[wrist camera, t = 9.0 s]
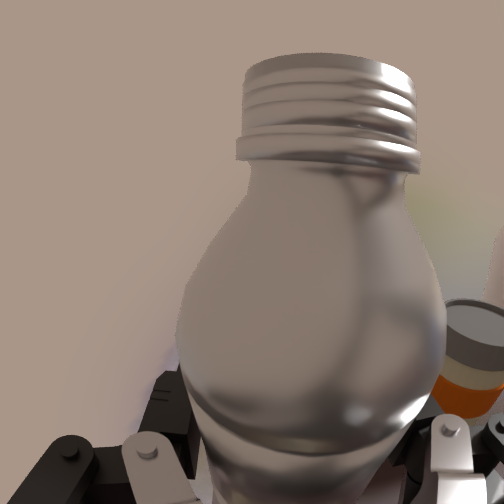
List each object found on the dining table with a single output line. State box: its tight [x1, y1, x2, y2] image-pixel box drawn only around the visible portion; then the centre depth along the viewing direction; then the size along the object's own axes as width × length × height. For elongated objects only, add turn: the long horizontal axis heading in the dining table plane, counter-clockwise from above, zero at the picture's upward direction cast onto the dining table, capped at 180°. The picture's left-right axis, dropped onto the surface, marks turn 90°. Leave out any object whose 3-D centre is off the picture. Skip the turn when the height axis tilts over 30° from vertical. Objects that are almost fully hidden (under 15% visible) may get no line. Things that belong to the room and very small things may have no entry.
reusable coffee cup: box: [431, 299, 504, 426], centre depth 29 cm, size 13×13×15 cm
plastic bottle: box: [175, 53, 447, 504], centre depth 8 cm, size 6×7×20 cm
